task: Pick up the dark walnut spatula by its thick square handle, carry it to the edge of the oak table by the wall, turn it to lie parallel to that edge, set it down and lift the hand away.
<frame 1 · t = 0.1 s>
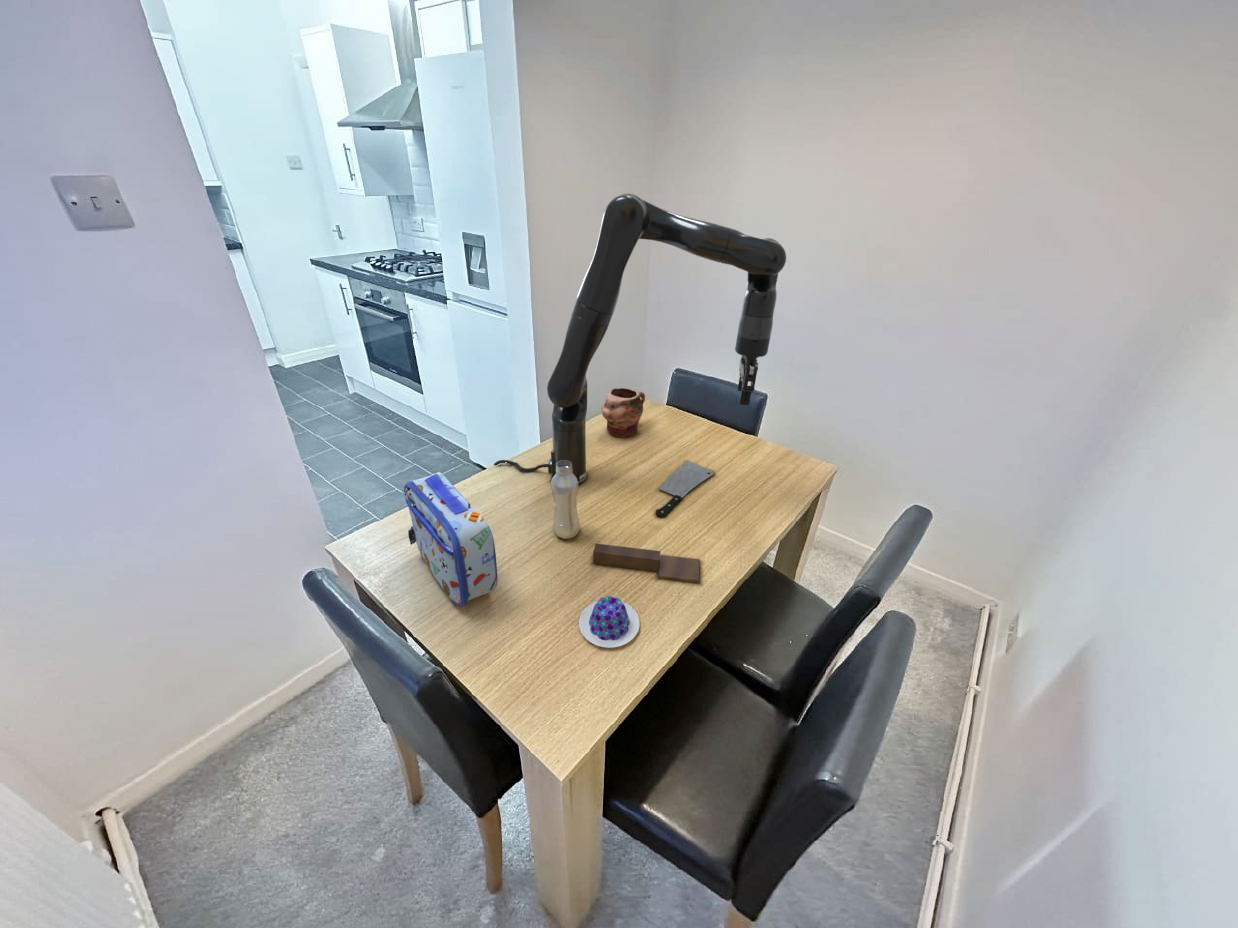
hand: (743, 397, 123), 29 cm above the table, tool pointing down, fingers open, 8 cm apart
lunch box: (455, 572, 109), on the table
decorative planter: (624, 429, 170), on the table
spatula: (639, 564, 112), on the table
cleaver: (676, 488, 139), on the table
pudding: (609, 625, 97), on the table
plastic bottle: (566, 533, 121), on the table
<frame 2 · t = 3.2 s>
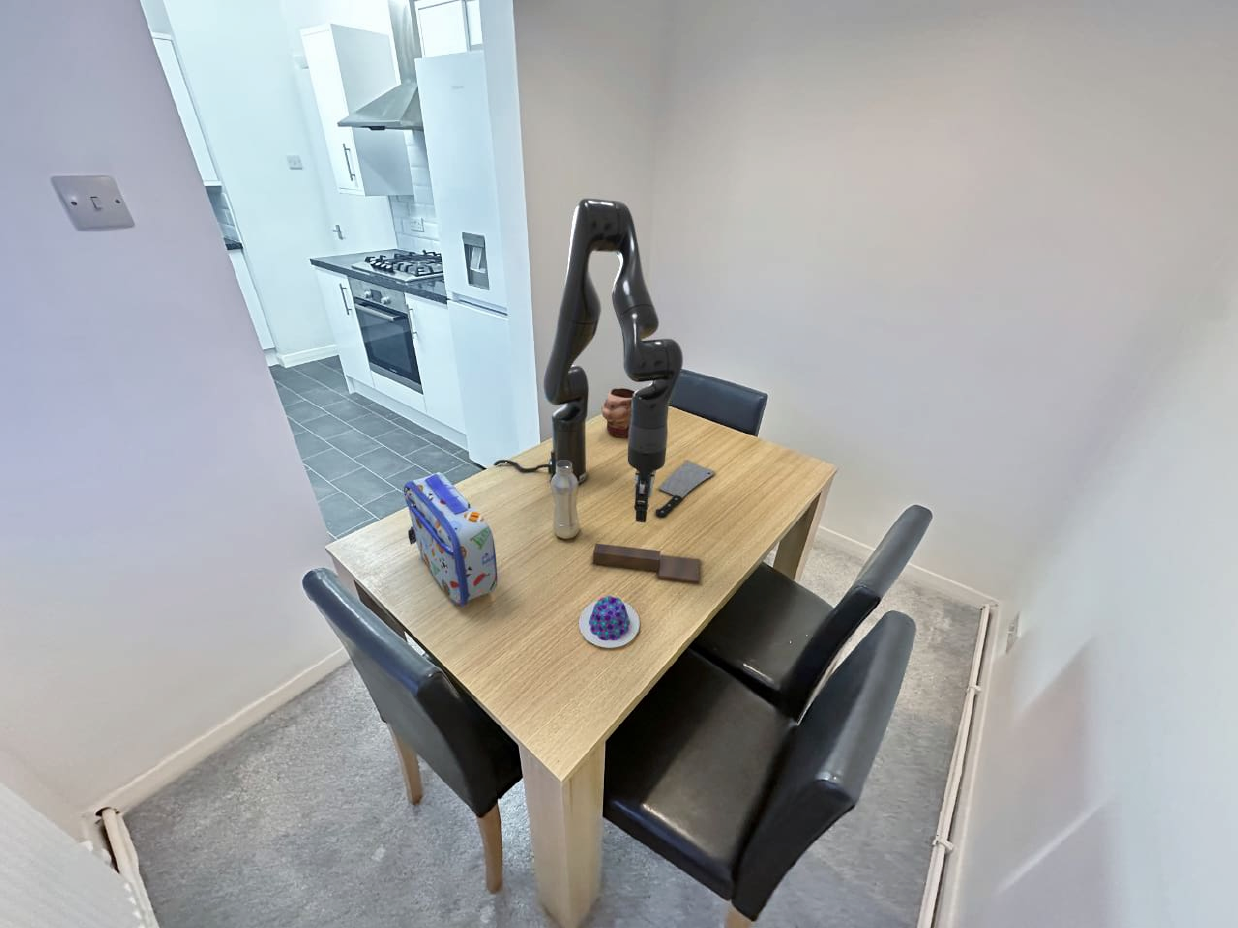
hand: (643, 508, 104), 16 cm above the table, tool pointing down, fingers open, 8 cm apart
nothing on the table moved.
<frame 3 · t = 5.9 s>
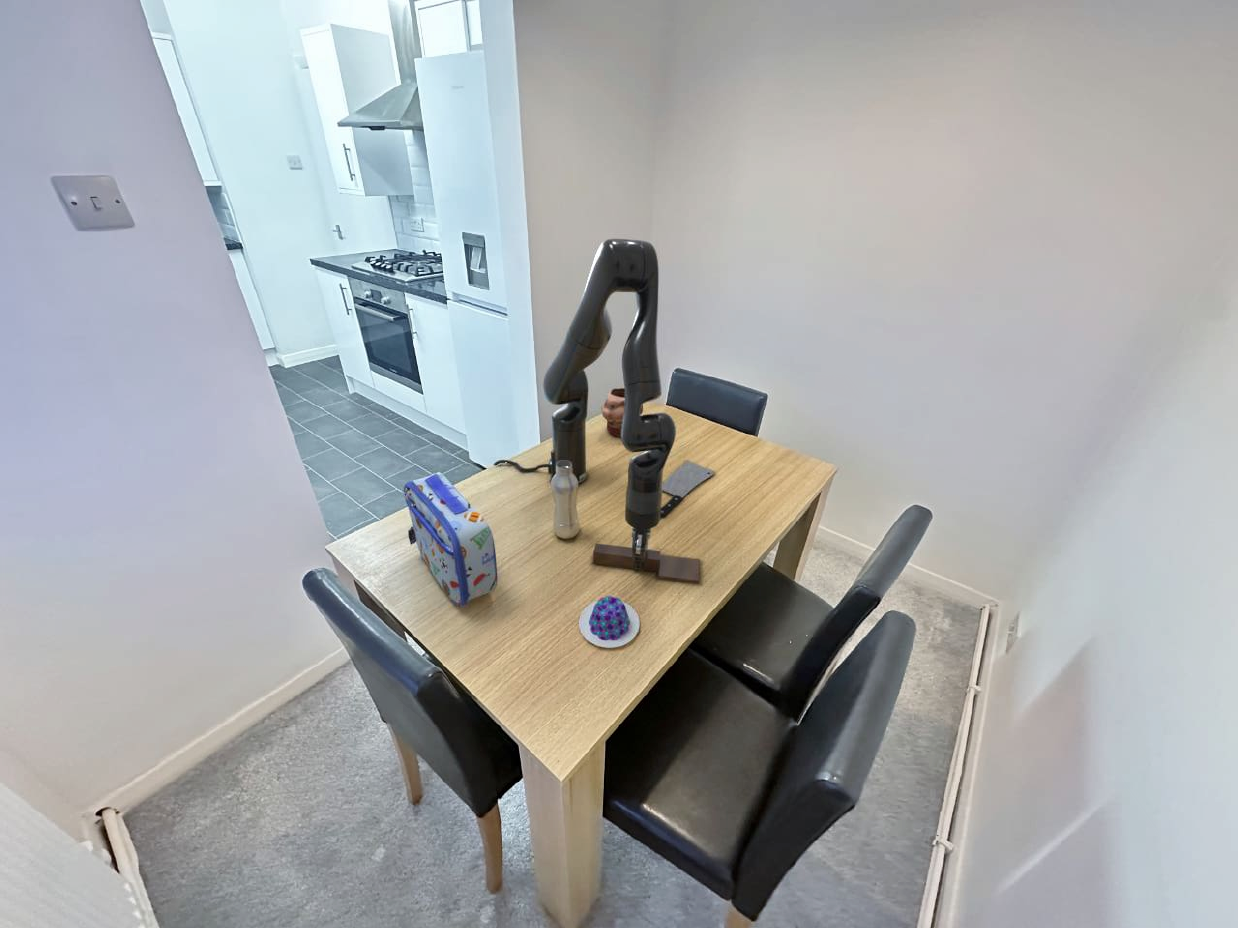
hand: (639, 562, 112), 1 cm above the table, tool pointing down, fingers closed on spatula, 3 cm apart
spatula: (639, 564, 112), on the table, touching gripper
everything else where it was.
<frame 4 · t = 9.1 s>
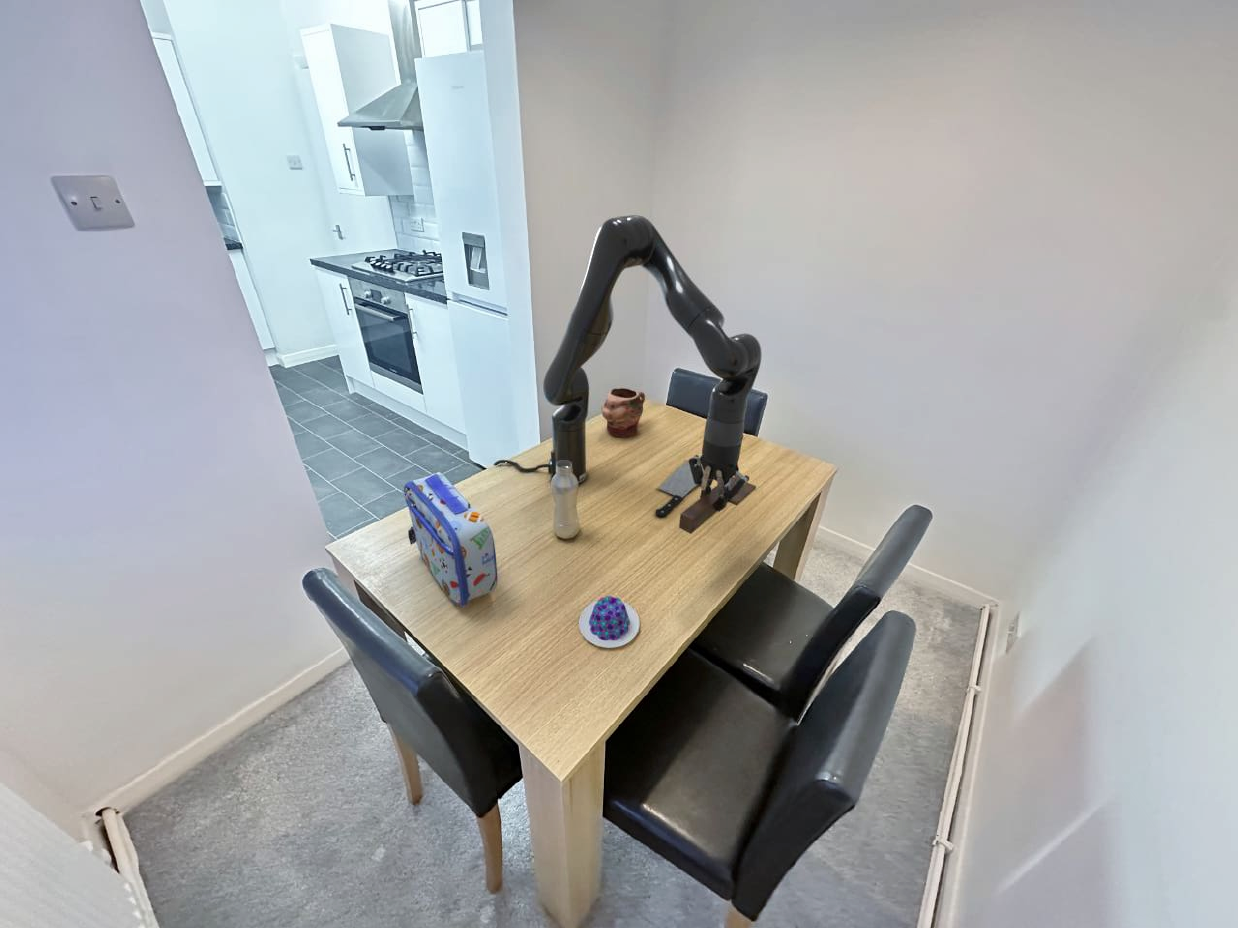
hand: (712, 505, 106), 15 cm above the table, tool pointing down, fingers closed on spatula, 3 cm apart
spatula: (712, 508, 107), point 15 cm above the table, touching gripper
everything else where it was.
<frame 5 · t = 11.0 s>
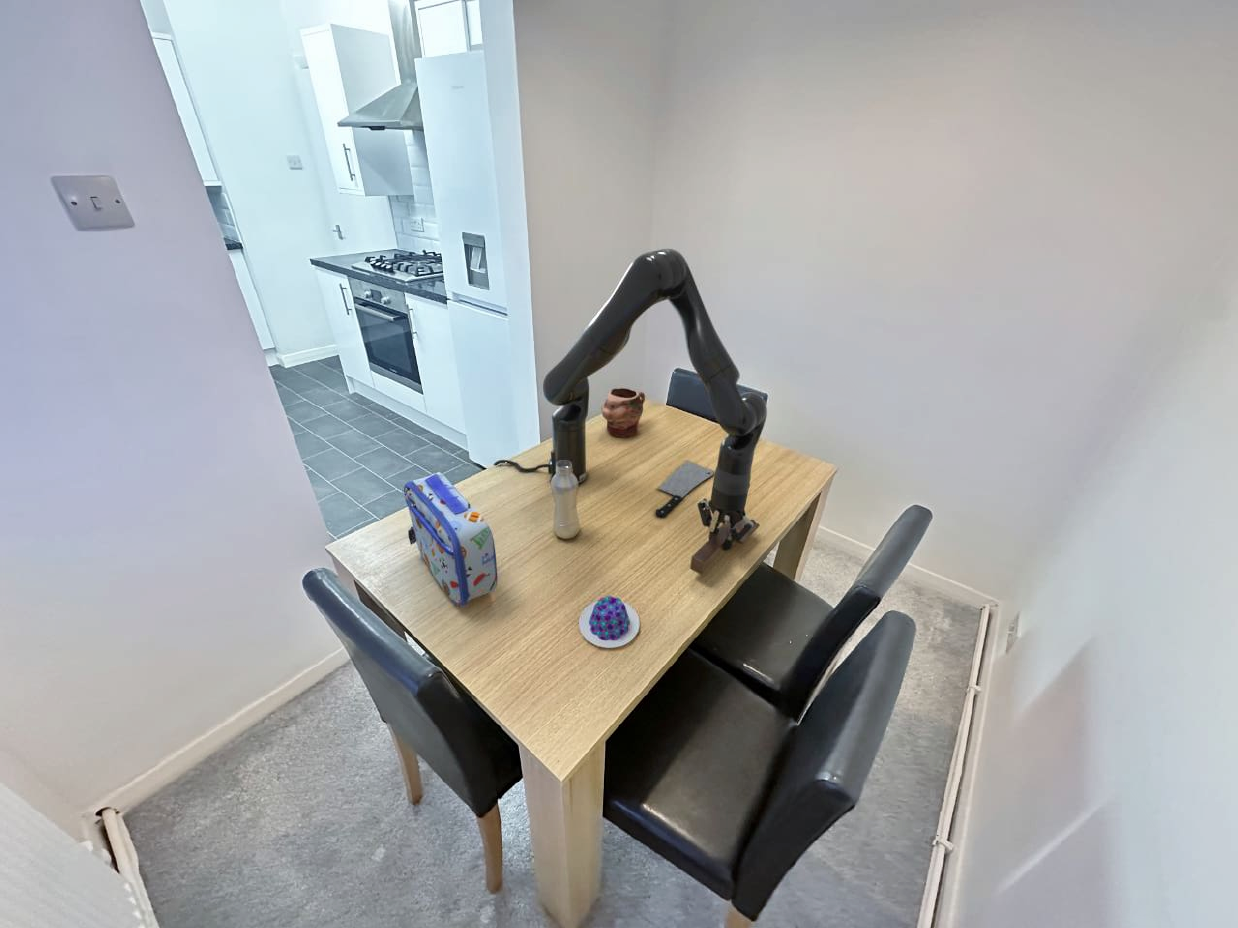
hand: (720, 545, 113), 3 cm above the table, tool pointing down, fingers closed on spatula, 3 cm apart
spatula: (719, 547, 114), point 3 cm above the table, touching gripper
everything else where it was.
when the fingers open (1 cm above the table, at t = 12.1 s): spatula stays where it is, on the table.
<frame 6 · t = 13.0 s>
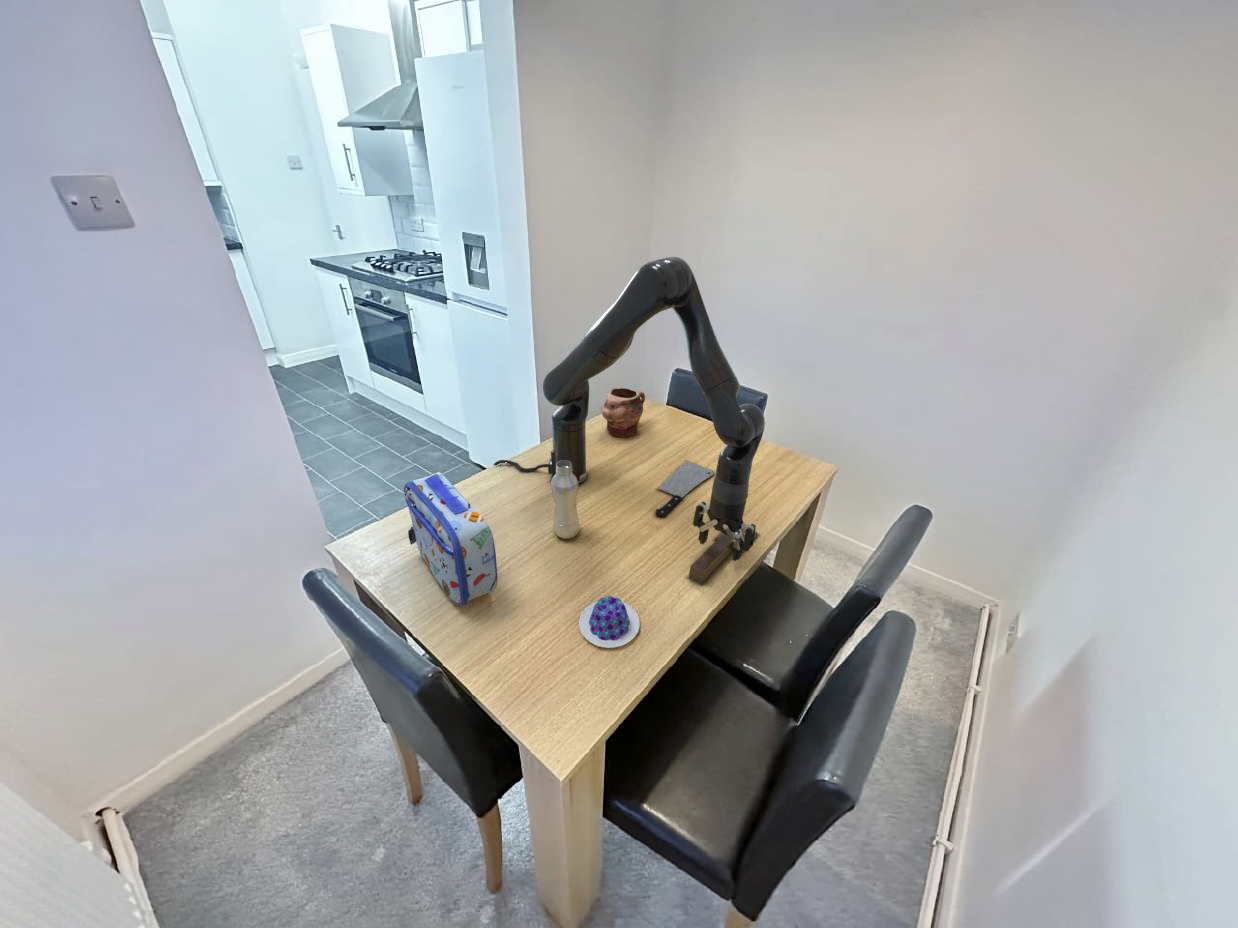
hand: (719, 550, 114), 2 cm above the table, tool pointing down, fingers open, 8 cm apart
spatula: (718, 556, 115), on the table
everything else where it was.
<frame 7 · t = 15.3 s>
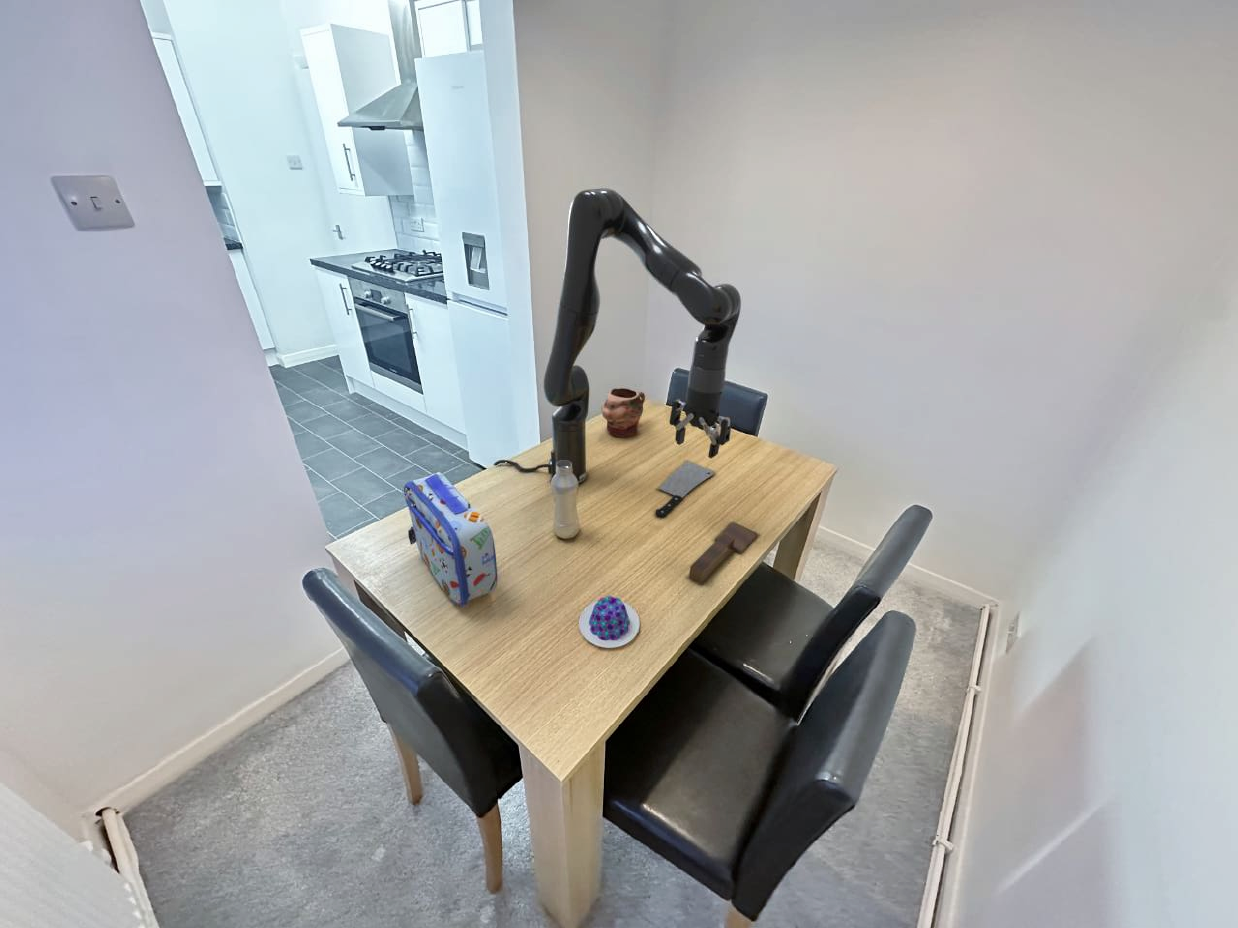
hand: (695, 450, 112), 23 cm above the table, tool pointing down, fingers open, 8 cm apart
nothing on the table moved.
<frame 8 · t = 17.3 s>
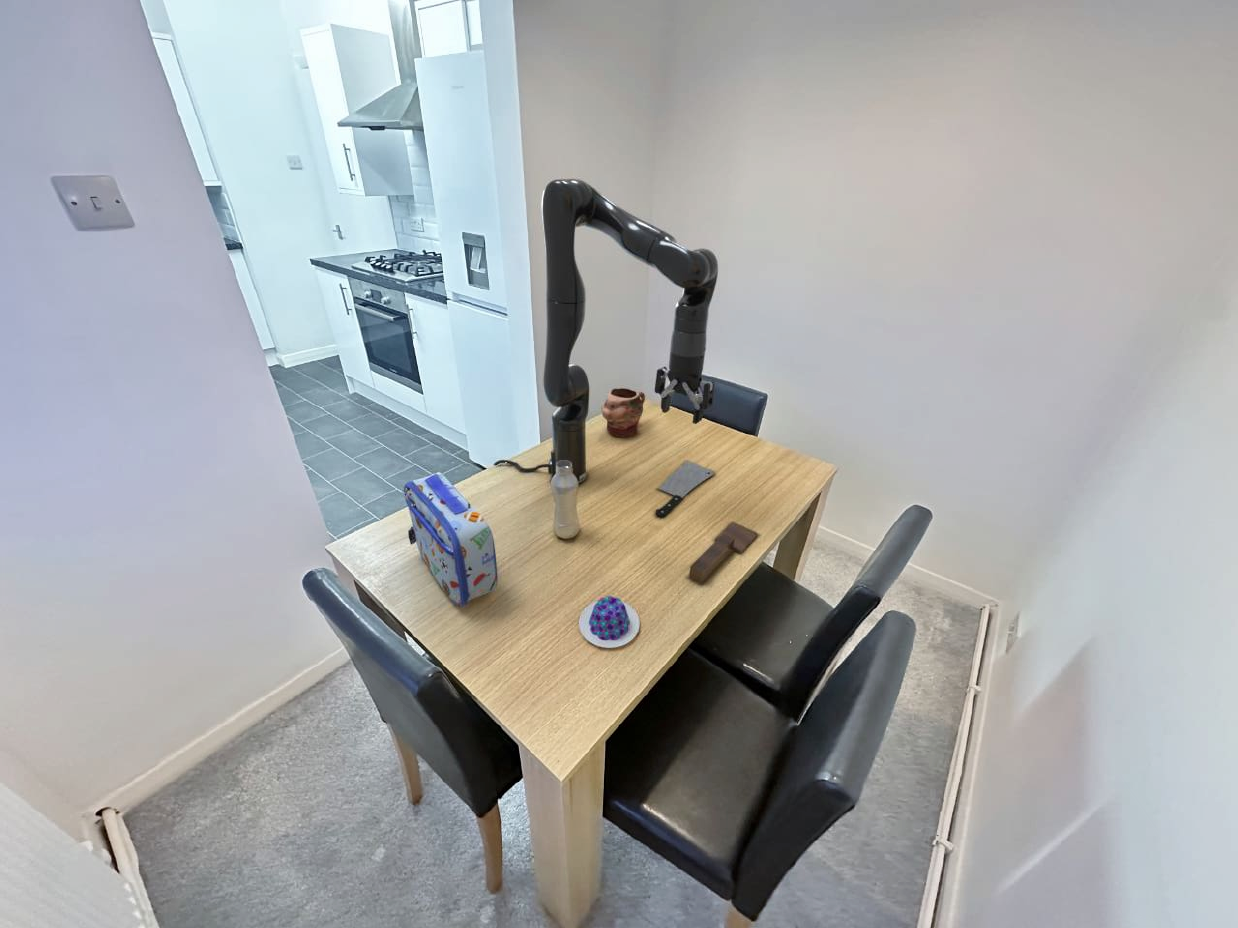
hand: (680, 417, 115), 28 cm above the table, tool pointing down, fingers open, 8 cm apart
nothing on the table moved.
at the end: spatula inside the target area (0.0 cm from its centre), on the table; spatula tilted 0°; the gripper is holding nothing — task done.
